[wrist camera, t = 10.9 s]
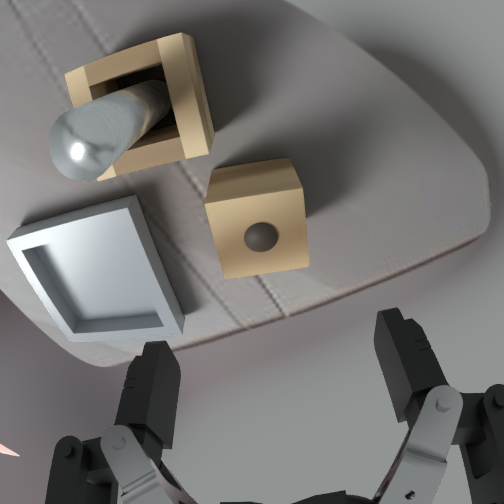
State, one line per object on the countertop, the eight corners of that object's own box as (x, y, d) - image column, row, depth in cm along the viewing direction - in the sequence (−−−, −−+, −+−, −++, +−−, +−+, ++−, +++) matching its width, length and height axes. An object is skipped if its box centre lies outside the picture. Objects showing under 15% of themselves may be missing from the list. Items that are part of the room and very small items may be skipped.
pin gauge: (128, 86, 17) (39, 123, 8) (168, 74, 16) (101, 97, 8) (138, 124, 18) (63, 189, 10) (177, 114, 18) (124, 171, 10)
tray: (17, 227, 22) (6, 240, 20) (136, 194, 21) (127, 207, 19) (76, 327, 29) (70, 342, 27) (185, 317, 28) (182, 334, 26)
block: (212, 169, 20) (204, 204, 16) (289, 157, 20) (303, 189, 16) (227, 234, 23) (224, 280, 19) (296, 223, 23) (309, 267, 19)
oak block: (95, 68, 16) (64, 74, 12) (193, 36, 15) (181, 32, 12) (120, 157, 19) (98, 181, 16) (214, 134, 19) (208, 154, 16)
